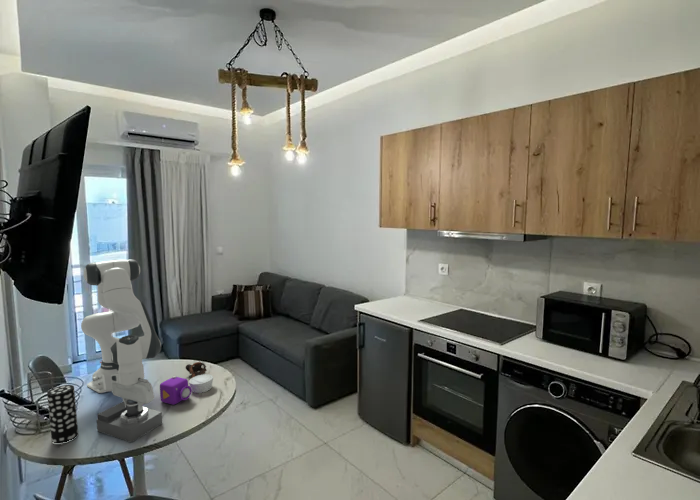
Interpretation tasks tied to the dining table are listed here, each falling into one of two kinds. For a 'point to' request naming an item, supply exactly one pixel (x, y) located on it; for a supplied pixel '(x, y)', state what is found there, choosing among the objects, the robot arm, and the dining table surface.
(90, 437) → the dining table surface
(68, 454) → the dining table surface
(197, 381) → the ramekin
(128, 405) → the lens
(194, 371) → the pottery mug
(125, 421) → the camera body
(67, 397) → the spotted tube
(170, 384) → the toy camera
